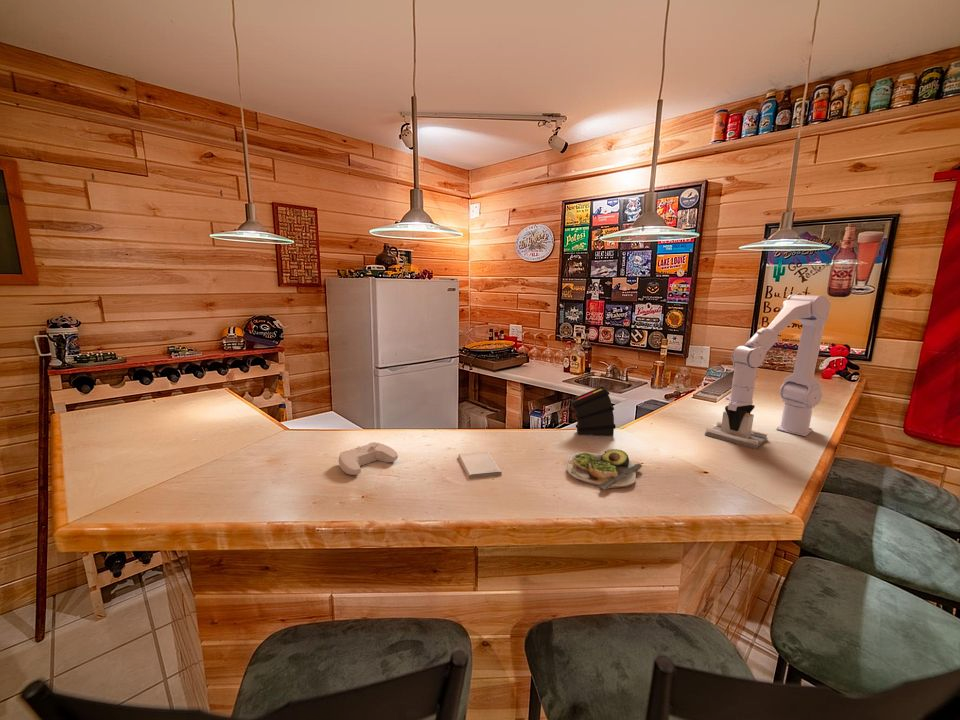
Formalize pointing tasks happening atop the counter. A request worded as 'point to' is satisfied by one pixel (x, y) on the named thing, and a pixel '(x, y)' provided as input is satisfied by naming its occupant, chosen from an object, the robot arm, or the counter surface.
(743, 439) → the rail mount
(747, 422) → the module block
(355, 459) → the game controller
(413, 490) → the counter surface
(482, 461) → the hard drive
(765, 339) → the robot arm
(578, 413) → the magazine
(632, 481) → the avocado toast plate
